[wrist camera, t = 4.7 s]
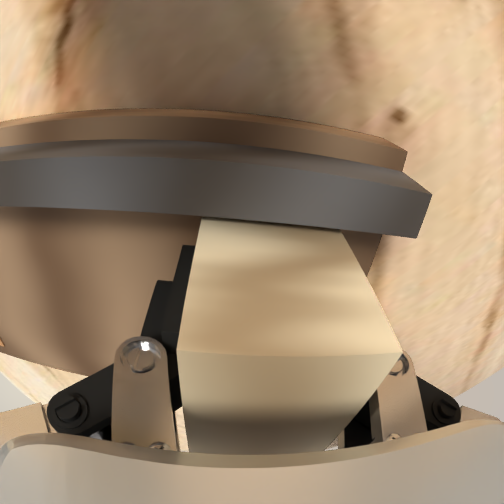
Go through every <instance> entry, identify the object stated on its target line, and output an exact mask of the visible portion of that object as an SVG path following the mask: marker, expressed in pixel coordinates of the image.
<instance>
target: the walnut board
mask: <svg viewBox="0 0 504 504" xmlns="http://www.w3.org/2000/svg"><path fill="white" fill-rule="evenodd" d="M406 156H407V151H406V150H404V149H402V148H400V147H398V146H397V145H395V144H393V143H391V142H389V141H387V140H385V139H384V138H380V137H376V136H372V135H368V134H364V133H359V132H355V131H350V130H346V129H341V128H336V127H331V126H326V125H321V124H315V123H310V122H304V121H298V120H291V119H285V118H278V117H270V116H262V115H254V114H245V113H235V112H223V111H209V110H192V109H154V108H144V109H107V110H90V111H77V112H66V113H57V114H48V115H41V116H34V117H27V118H21V119H15V120H9V121H4V122H0V352H2V353H5V354H8V355H11V356H14V357H17V358H20V359H23V360H27V361H30V362H34V363H37V364H41V365H44V366H48V367H52V368H55V369H59V370H63V371H67V372H72V373H76V374H80V375H85V376H91V375H92V374H94V373H96V372H98V371H100V370H102V369H104V368H106V367H107V366H109V365H111V364H113V363H114V357H115V353H116V350H117V348H118V347H119V345H120V344H121V343H123V342H124V341H125V340H127V339H130V338H132V337H138V336H140V335H141V332H142V328H143V324H144V321H145V318H146V314H147V311H148V307H149V304H150V301H151V298H152V294H153V291H154V288H155V285H156V282H157V281H158V280H165V281H173V279H174V275H175V271H176V268H177V264H178V260H179V256H180V253H181V249H182V246H183V245H194V246H196V242H197V238H198V233H199V228H200V224H201V219H202V216H207V217H219V218H231V219H243V220H254V221H265V222H276V223H286V224H296V225H306V226H316V227H325V228H334V229H340V231H341V232H342V234H343V236H344V238H345V239H346V241H347V243H348V245H349V246H350V248H351V250H352V252H353V254H354V255H355V257H356V259H357V261H358V263H359V264H360V266H361V268H362V270H363V272H364V274H365V276H366V277H367V275H368V272H369V269H370V267H371V264H372V262H373V259H374V256H375V254H376V251H377V248H378V245H379V243H380V240H381V237H382V234H385V235H393V236H401V237H409V238H417V236H418V233H419V230H420V228H421V225H422V223H423V220H424V217H425V214H426V212H427V209H428V206H429V203H430V200H431V197H432V194H431V193H430V192H429V191H427V190H426V189H425V188H423V187H422V186H421V185H419V184H418V183H417V182H415V181H414V180H413V179H411V178H410V177H409V176H407V175H406V174H405V173H403V172H402V171H403V167H404V163H405V160H406Z"/></svg>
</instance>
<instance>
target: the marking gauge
mask: <svg viewBox="0 0 504 504" xmlns="http://www.w3.org/2000/svg"><path fill="white" fill-rule="evenodd" d="M402 353H403V351H402V348H401V346H400V344H399V342H398V340H397V338H396V335H395V333H394V331H393V329H392V327H391V325H390V323H389V321H388V319H387V317H386V315H385V313H384V311H383V309H382V307H381V305H380V303H379V301H378V299H377V297H376V295H375V293H374V291H373V289H372V287H371V285H370V283H369V281H368V279H367V278H366V276H365V274H364V272H363V270H362V268H361V266H360V264H359V263H358V261H357V259H356V257H355V255H354V254H353V252H352V250H351V248H350V246H349V245H348V243H347V241H346V239H345V238H344V236H343V234H342V232H341V231H340V229H334V228H325V227H316V226H306V225H296V224H286V223H276V222H265V221H254V220H243V219H231V218H219V217H207V216H202V219H201V224H200V228H199V233H198V238H197V242H196V247H195V252H194V257H193V262H192V267H191V272H190V277H189V282H188V287H187V292H186V298H185V303H184V309H183V314H182V320H181V326H180V332H179V338H178V344H177V361H178V371H179V381H180V389H181V398H182V406H183V414H184V421H185V428H186V435H187V441H188V448H189V452H191V453H204V454H223V455H276V454H295V453H308V452H319V451H324V450H325V449H326V448H327V447H328V446H329V445H330V444H331V443H332V442H333V441H334V440H335V438H336V437H337V436H338V435H339V434H340V433H341V432H342V431H343V430H344V428H345V427H346V426H347V425H348V424H349V423H350V421H351V420H352V419H353V418H354V417H355V416H356V414H357V413H358V412H359V411H360V410H361V408H362V407H363V406H364V405H365V403H366V402H367V401H368V400H369V398H370V397H371V396H372V395H373V393H374V392H375V391H376V389H377V388H378V387H379V385H380V384H381V383H382V381H383V380H384V379H385V377H386V376H387V375H388V373H389V372H390V370H391V369H392V368H393V366H394V365H395V363H396V362H397V360H398V359H399V358H400V356H401V355H402Z"/></svg>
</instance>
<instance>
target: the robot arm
mask: <svg viewBox="0 0 504 504" xmlns="http://www.w3.org/2000/svg"><path fill="white" fill-rule="evenodd" d="M195 247H196V246H194V245H183V246H182V249H181V253H180V256H179V260H178V264H177V268H176V271H175V275H174V279H173V281H165V280H158V281H157V282H156V285H155V288H154V291H153V294H152V298H151V301H150V304H149V307H148V311H147V314H146V318H145V321H144V324H143V328H142V332H141V335H140V336H138V337H132V338H130V339H127V340H125V341H124V342H123V343H121V344H120V345H119V347H118V348H117V350H116V353H115V357H114V363H113V364H111V365H109V366H107V367H106V368H104V369H102V370H100V371H98V372H96V373H94V374H92V375H91V376H89V377H87V378H85V379H83V380H81V381H79V382H77V383H75V384H73V385H72V386H70V387H68V388H66V389H64V390H62V391H60V392H58V393H57V394H56V395H54V396H53V397H52V398H51V400H50V401H49V403H48V404H45V405H42V404H41V403H36V404H32V405H29V406H25V407H21V408H17V409H14V410H9V411H5V412H1V413H0V504H504V422H501V421H500V420H499V419H498V418H496V417H494V416H491V415H488V414H485V413H482V412H479V411H476V410H473V409H470V408H468V407H465V406H461V407H459V405H458V403H457V402H456V401H455V399H453V398H452V397H451V396H450V395H448V394H446V393H444V392H443V391H441V390H439V389H438V388H436V387H434V386H433V385H431V384H429V383H428V382H426V381H425V380H423V379H421V378H420V377H418V376H416V374H415V370H414V366H413V362H412V360H411V358H410V356H409V355H408V354H407V353H406V352H405V351H404V350H402V351H403V353H402V355H401V356H400V358H399V359H398V360H397V362H396V363H395V365H394V366H393V368H392V369H391V370H390V372H389V373H388V375H387V376H386V377H385V379H384V380H383V381H382V383H381V384H380V385H379V387H378V388H377V389H376V391H375V392H374V393H373V395H372V396H371V397H370V398H369V400H368V401H367V402H366V403H365V405H364V406H363V407H362V408H361V410H360V411H359V412H358V413H357V414H356V416H355V417H354V418H353V419H352V420H351V421H350V423H349V424H348V425H347V426H346V427H345V428H344V430H343V431H342V432H341V433H340V434H339V435H338V449H336V450H328V451H319V452H308V453H295V454H276V455H223V454H204V453H191V452H181V451H180V444H179V437H178V429H177V421H176V412H175V411H176V410H177V409H179V408H180V407H182V398H181V389H180V381H179V371H178V361H177V344H178V338H179V332H180V326H181V320H182V314H183V309H184V303H185V298H186V292H187V287H188V282H189V277H190V272H191V267H192V262H193V257H194V252H195Z"/></svg>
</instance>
